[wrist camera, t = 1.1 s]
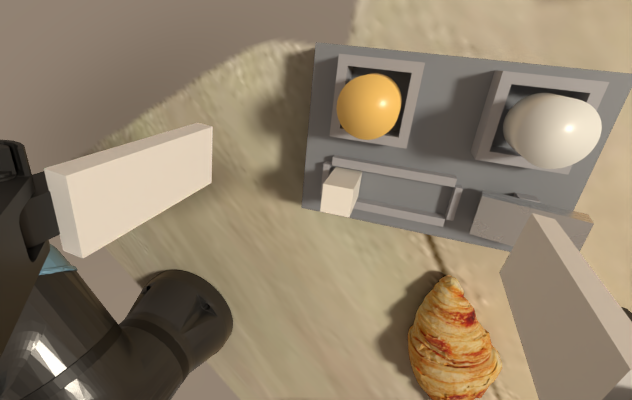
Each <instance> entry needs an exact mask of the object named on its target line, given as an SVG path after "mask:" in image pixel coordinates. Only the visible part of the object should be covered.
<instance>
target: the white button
mask: <svg viewBox="0 0 632 400" xmlns="http://www.w3.org/2000/svg"><path fill="white" fill-rule="evenodd" d="M601 130H602V124H601V119H600V116H599V114H598V112H597V111H596V110H595V109H594V108H593V107H592V106H591V105H590V104H588V103H586V102H584V101H582V100H579V99H574V98H570V97H565V96H561V95H556V94H552V93H537V94H532V95H529V96H527V97H525V98H523V99H521V100H520V101H518V102H517V103H516V104H515V105H514V106H513V107H512V108H511V109H510V110H509V112H508V113H507V115H506V117H505V119H504V123H503V134H504V138H505V140H506V142H507V143H508V144H509V145H510V146H511V147H512V148H513V149H514V150H515V151H517V152H518V153H519V154H520V155H521V156H522V157H523V158H525V159H526V160H527V161H528V162H530V163H531V164H533V165H535V166H537V167H540V168H545V169H558V168H564V167H567V166H570V165H573V164H575V163H577V162H579V161H580V160H582V159H583V158H585V157H586V156H587V155H588V154H589V153H590V152H591V151H592V150H593V149H594V147H595V146H596V144H597V142H598V141H599V138H600V135H601Z"/></svg>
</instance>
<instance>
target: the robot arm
mask: <svg viewBox="0 0 632 400" xmlns="http://www.w3.org/2000/svg"><path fill="white" fill-rule="evenodd" d="M212 133H213V127H212V126H209V125H205V124H201V123H194V124H191V125H188V126H184V127H181V128H178V129H174V130H171V131H167V132H164V133H161V134H157V135H154V136H151V137H147V138H144V139H141V140H137V141H134V142H131V143H127V144H124V145H120V146H117V147H114V148H110V149H107V150H104V151H100V152H97V153H94V154H90V155H87V156H83V157H80V158H77V159H73V160H70V161H67V162H63V163H60V164H57V165H53V166H50V167H46V168H44V172H40V173H37V174H34V175H32V174H31V170H30V166H29V163H28V159H27V155H26V151H25V147H24V145H23V144H21V143H19V142H15V141H9V140H0V400H171V398H172V397H173V395H174V394H175V393H176V391H177V390H178V388H179V387H180V385H181V384H182V383H183V381H184V380H185V378H186V377H187V376H188V374H189V373H190V372H192V371H193V370H194V369H196V368H197V367H198V366H200V365H201V364H202V363H204V362H205V361H206V360H207V359H209V358H210V357H211V356H212V355H214V354H215V353H217V352H218V351H219V350H220V349H221V348H222V347H223V345H224V344H225V342H226V341H227V339H228V338H229V336H230V335H231V332H232V328H233V320H232V315H231V311H230V309H229V307H228V305H227V303H226V301H225V300H224V298H223V297H222V296H221V294H220V293H219V292H218V291H217V290H216V289H215V288H214V287H213V286H212V285H211V284H209V283H208V282H207V281H205V280H204V279H202V278H200V277H198V276H196V275H194V274H192V273H189V272H185V271H180V270H170V271H165V272H162V273H160V274H159V275H157V276H156V277H155V278H154V279H152V280H151V281H150V282H149V283H148V284H147V285H146V286H145V287H144V288H143V290H142V292H141V293H140V295H139V297H138V298H137V300H136V302H135V303H134V305H133V307H132V308H131V310H130V312H129V313H128V315H127V317H126V318H125V319H124V320H123V321H122V322H121V323H120V324H119V325H118V324H117V322H116V321H115V320H114V319H113V317H112V316H111V315H110V314H109V312H108V311H107V310H106V308H105V307H104V306H103V305H102V303H101V302H100V301H99V299H98V298H97V297H96V296H95V294H94V293H93V292H92V291H91V289H90V288H89V287H88V286H87V284H86V283H85V282H84V280H83V279H82V278H81V277H80V275H79V274H78V273H77V268H76V267H75V266H72V265H71V264H70V263H69V262H68V261H67V260H66V259H65V257H64V256H63V255H62V254H61V253H60V252H59V251H58V250H57V248H55V247H54V246H53V245H51V244H49V239H51V238H53V237H55V236H57V235H60V240H61V244H62V248H63V251H65V252H67V253H70V254H72V255H75V256H77V257H80V258H82V259H83V258H85V257H87V256H88V255H90V254H92V253H93V252H95V251H97V250H99V249H100V248H102V247H104V246H105V245H107V244H109V243H110V242H112V241H114V240H115V239H117V238H119V237H121V236H122V235H124V234H126V233H127V232H129V231H131V230H132V229H134V228H136V227H137V226H139V225H141V224H143V223H144V222H146V221H148V220H149V219H151V218H153V217H154V216H156V215H158V214H159V213H161V212H163V211H165V210H166V209H168V208H170V207H171V206H173V205H175V204H176V203H178V202H180V201H181V200H183V199H185V198H187V197H188V196H190V195H192V194H193V193H195V192H197V191H198V190H200V189H202V188H204V187H205V186H207V185H209V184H210V183H212ZM500 276H501V279H502V282H503V285H504V288H505V292H506V295H507V298H508V301H509V305H510V308H511V311H512V314H513V317H514V321H515V324H516V327H517V330H518V333H519V337H520V340H521V343H522V346H523V349H524V353H525V356H526V359H527V362H528V366H529V369H530V372H531V375H532V378H533V382H534V385H535V388H536V391H537V394H538V398H539V400H632V313H631V312H630V311H629V310H628V309H626V308H623V307H620V305H619V304H618V303H617V301H616V300H615V299H614V297H613V296H612V295H611V293H610V292H609V291H608V289H607V288H606V287H605V285H604V284H603V283H602V281H601V280H600V279H599V277H598V276H597V275H596V273H595V272H594V271H593V269H592V268H591V266H590V265H589V264H588V262H587V261H586V260H585V258H584V257H583V256H582V254H581V253H580V252H579V250H578V249H577V248H576V246H575V245H574V244H573V242H572V241H571V240H570V238H569V237H568V236H567V234H566V233H565V232H564V230H563V229H562V228H561V226H560V225H559V224H558V222H557V221H556V220H555V219H553V218H549V217H545V216H542V215H538V214H534V213H532V214H531V215H530V217H529V219H528V221H527V223H526V225H525V227H524V228H523V230H522V232H521V234H520V236H519V238H518V239H517V241H516V243H515V245H514V247H513V249H512V250H511V252H510V254H509V256H508V258H507V260H506V261H505V263H504V265H503V267H502V269H501V271H500Z"/></svg>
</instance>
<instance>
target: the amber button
mask: <svg viewBox="0 0 632 400" xmlns="http://www.w3.org/2000/svg"><path fill="white" fill-rule="evenodd" d="M401 103H402V97H401V92H400V89H399V87H398V86H397V84H396V83H395V82H394V81H393V80H392V79H391V78H390V77H388V76H386V75H383V74H379V73H371V74H367V75H363V76H359V77H357V78H354V79H353V80H351V81H350V82H348V83H347V84H346V85H345V87H344V88H343V89H342V91H341V92H340V95H339V97H338V100H337V108H336V109H337V116H338V119H339V122H340V124H341V126H342V127H343V128H344V130H345V131H346V132H347V133H349V134H350V135H352V136H353V137H356V138H358V139H363V140H372V139H376V138H379V137H381V136H383V135H385V134H386V133H387V132H389V131H390V130H391V129H392V127H393V126H394V124H395V123H396V121H397V118H398V115H399V112H400V108H401Z"/></svg>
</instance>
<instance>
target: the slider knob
mask: <svg viewBox="0 0 632 400" xmlns="http://www.w3.org/2000/svg"><path fill="white" fill-rule="evenodd" d="M361 176H362V171H357V170H351V169H346V168H340V167H335V169H334V170H333V171H332V173H331V174H330V175H329V177H328V178H327V179H326V181H325V182H324V183H323V190H322V199H321V208H320V211H321V212H325V213H330V214H335V215H339V216H344V217H350V215H351V212H352V210H353V208H354V205H355V203H356V200H357V198H358V195H359V189H360V182H361Z"/></svg>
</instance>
